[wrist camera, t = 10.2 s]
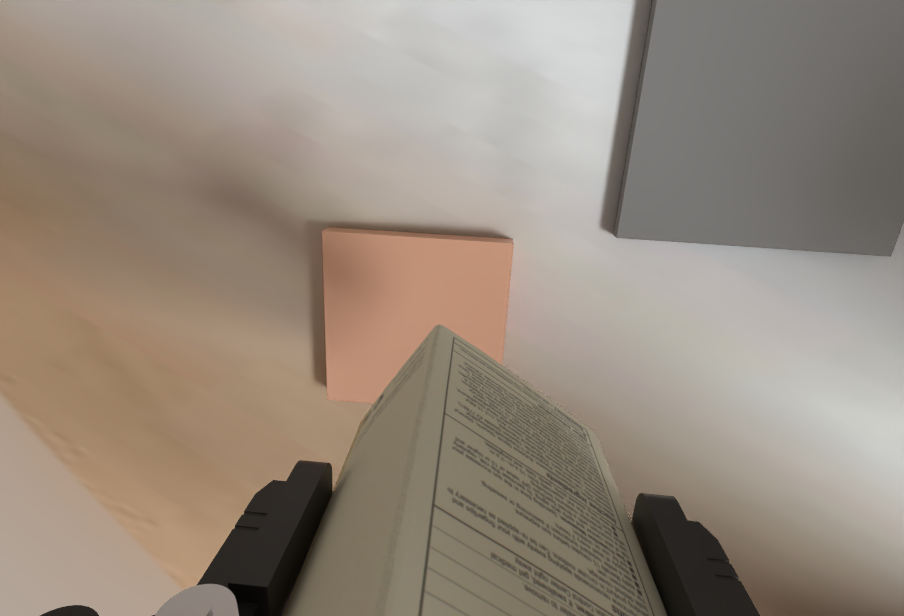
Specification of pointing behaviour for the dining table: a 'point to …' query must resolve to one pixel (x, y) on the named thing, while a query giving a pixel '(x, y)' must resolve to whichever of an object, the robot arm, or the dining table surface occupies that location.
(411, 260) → the glazed tile
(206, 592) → the robot arm
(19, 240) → the dining table surface
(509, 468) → the skincare box
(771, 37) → the rubber mat
